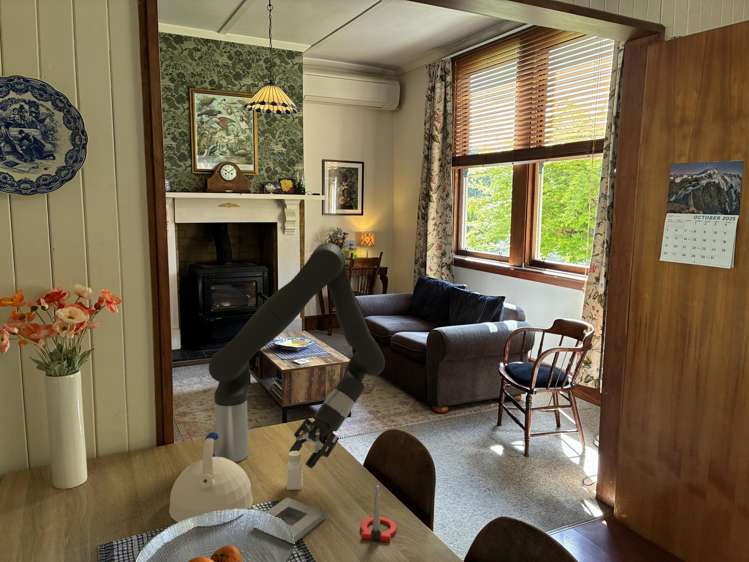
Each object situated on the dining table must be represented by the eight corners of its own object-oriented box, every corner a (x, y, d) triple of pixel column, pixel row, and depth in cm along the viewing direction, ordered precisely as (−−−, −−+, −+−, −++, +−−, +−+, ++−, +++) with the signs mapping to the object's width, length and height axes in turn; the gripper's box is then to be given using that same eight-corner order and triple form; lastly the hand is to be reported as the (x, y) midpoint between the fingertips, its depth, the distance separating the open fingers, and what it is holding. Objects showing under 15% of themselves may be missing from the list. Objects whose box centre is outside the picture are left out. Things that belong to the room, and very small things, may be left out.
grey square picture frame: (253, 528, 132) (253, 520, 132) (287, 504, 142) (287, 497, 142) (293, 545, 126) (293, 536, 126) (325, 519, 136) (325, 511, 136)
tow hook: (364, 519, 137) (357, 540, 128) (365, 468, 136) (358, 485, 127) (398, 522, 136) (394, 544, 127) (400, 471, 135) (395, 489, 126)
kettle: (160, 532, 130) (157, 458, 128) (177, 487, 151) (174, 422, 148) (250, 525, 134) (248, 453, 131) (255, 481, 154) (253, 418, 151)
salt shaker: (302, 490, 149) (301, 456, 148) (286, 490, 149) (286, 456, 148) (302, 482, 153) (302, 449, 152) (287, 483, 153) (287, 450, 152)
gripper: (312, 395, 160) (277, 444, 155) (342, 410, 149) (305, 464, 144) (328, 409, 164) (294, 457, 159) (358, 424, 153) (322, 477, 148)
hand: (299, 460), depth 151 cm, fingers open, 8 cm apart
